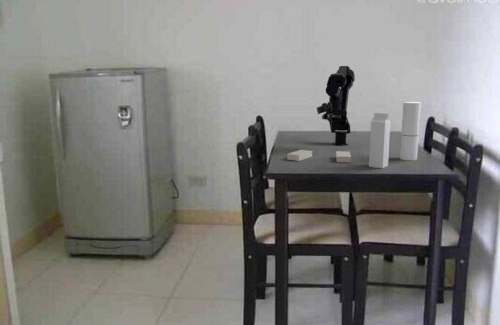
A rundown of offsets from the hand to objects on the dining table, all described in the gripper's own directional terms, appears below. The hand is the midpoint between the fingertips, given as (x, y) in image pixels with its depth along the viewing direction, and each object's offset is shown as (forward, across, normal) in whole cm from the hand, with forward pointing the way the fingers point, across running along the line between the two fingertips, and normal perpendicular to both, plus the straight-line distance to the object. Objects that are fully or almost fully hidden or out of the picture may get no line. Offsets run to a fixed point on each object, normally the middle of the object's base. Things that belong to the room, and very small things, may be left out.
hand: (332, 132), depth 223 cm
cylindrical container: (+10, +19, +30) cm, 37 cm away
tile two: (+11, +4, -13) cm, 18 cm away
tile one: (+10, +10, +2) cm, 15 cm away
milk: (+16, +30, +11) cm, 36 cm away
